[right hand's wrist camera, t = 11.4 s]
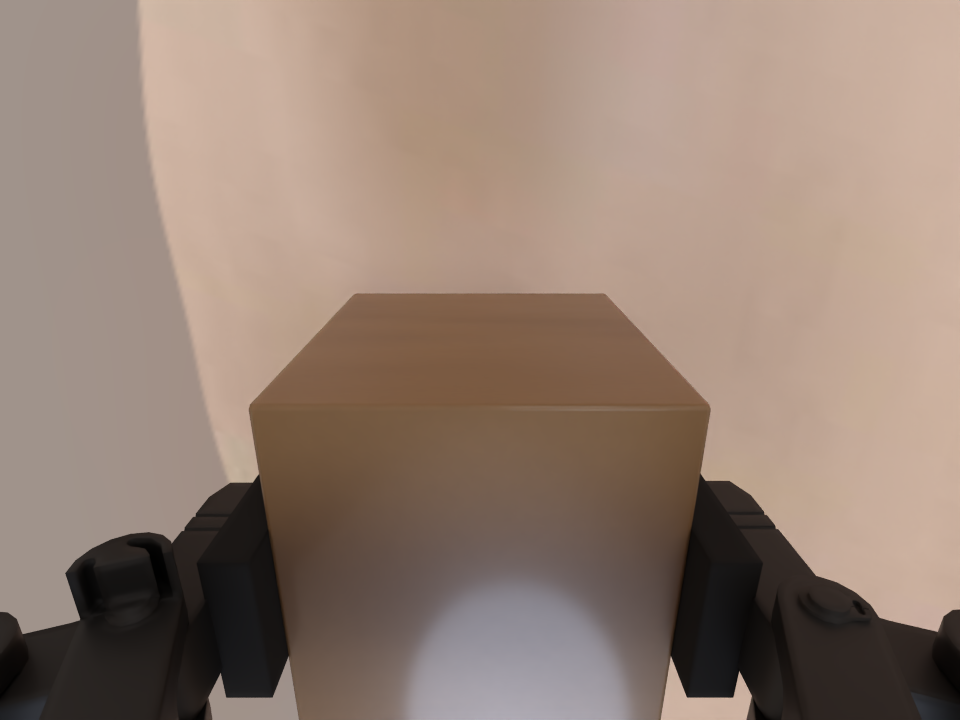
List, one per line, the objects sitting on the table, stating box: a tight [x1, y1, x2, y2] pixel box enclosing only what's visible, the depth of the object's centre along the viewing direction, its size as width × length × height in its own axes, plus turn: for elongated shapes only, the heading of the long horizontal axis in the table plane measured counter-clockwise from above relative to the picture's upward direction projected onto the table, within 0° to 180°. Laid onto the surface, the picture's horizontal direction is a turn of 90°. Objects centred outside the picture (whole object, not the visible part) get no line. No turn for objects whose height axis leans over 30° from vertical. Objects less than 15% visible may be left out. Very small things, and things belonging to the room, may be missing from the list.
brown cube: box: [249, 294, 710, 720], centre depth 12 cm, size 7×7×7 cm
